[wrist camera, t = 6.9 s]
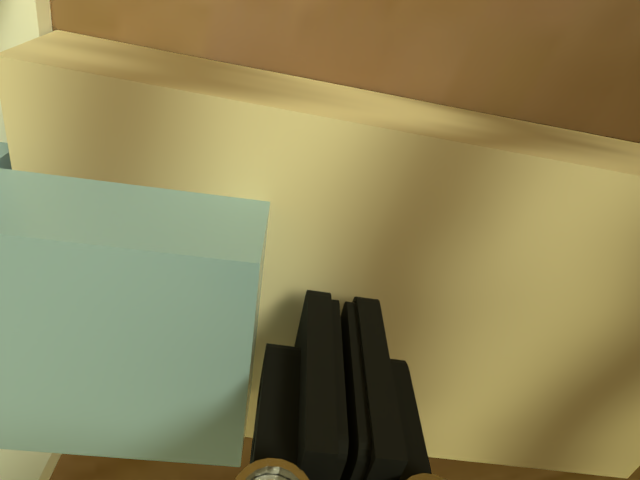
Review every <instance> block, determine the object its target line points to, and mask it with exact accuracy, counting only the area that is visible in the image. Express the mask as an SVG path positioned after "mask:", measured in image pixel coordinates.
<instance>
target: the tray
mask: <svg viewBox="0 0 640 480" xmlns="http://www.w3.org/2000/svg"><path fill="white" fill-rule="evenodd" d="M50 32H53V30H52V20H51V10H50V0H0V52H2V51H4V50H7V49H10V48H12V47H15V46H17V45H20V44H22V43H25V42H27V41H30V40H32V39H35V38H38V37H40V36H43V35H45V34H48V33H50ZM0 142H4V143H7V137H6V131H5V125H4V119H3V113H2V107H1V101H0ZM60 456H61V454H60V453H47V452H34V451H21V450H8V449H0V480H49V479H50V477H51V475H52V473H53V471H54V469H55V467H56V465H57V462H58V460H59V458H60Z"/></svg>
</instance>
